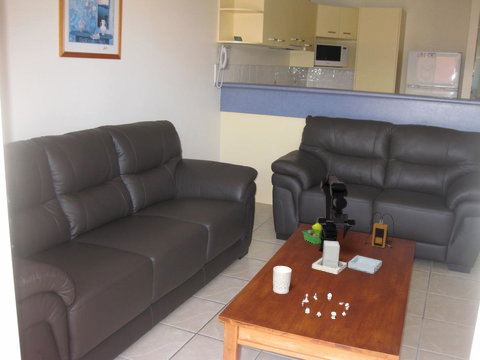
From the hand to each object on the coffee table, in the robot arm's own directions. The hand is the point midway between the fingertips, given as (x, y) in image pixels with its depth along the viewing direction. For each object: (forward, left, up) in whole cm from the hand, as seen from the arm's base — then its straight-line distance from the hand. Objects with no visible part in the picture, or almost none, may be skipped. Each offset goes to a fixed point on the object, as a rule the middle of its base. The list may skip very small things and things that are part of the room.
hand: (334, 238), depth 266 cm
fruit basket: (-21, +25, -13) cm, 35 cm away
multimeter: (+11, +45, -13) cm, 48 cm away
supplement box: (+2, -8, -13) cm, 15 cm away
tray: (+16, +4, -13) cm, 21 cm away
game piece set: (+18, -53, -13) cm, 58 cm away
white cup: (-4, -49, -13) cm, 51 cm away
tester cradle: (+2, -8, -13) cm, 15 cm away
